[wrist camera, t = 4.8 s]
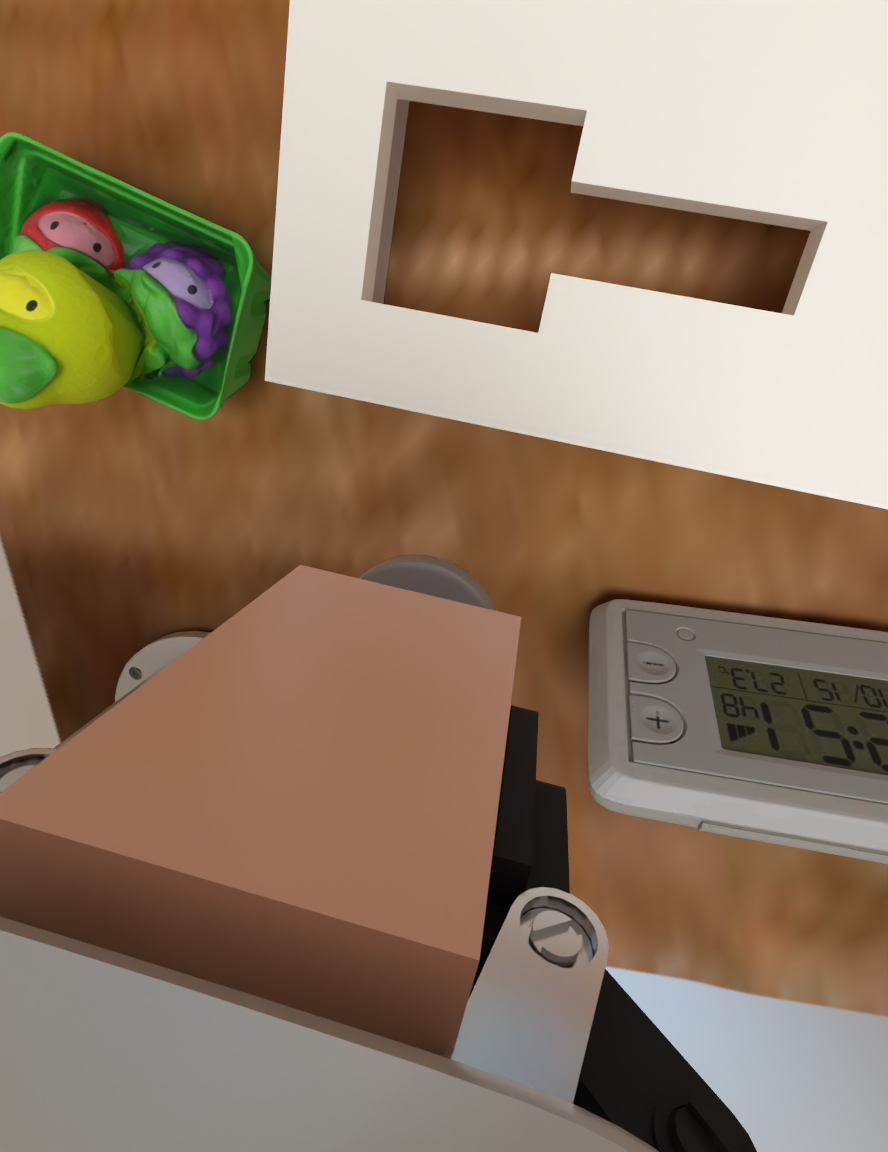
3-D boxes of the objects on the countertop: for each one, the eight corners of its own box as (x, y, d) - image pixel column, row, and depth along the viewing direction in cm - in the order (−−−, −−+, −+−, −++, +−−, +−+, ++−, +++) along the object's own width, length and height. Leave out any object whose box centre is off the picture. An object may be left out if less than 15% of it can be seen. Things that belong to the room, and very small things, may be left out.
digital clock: (951, 640, 28) (1163, 789, 18) (853, 787, 31) (987, 980, 21) (616, 536, 29) (645, 622, 19) (556, 687, 33) (554, 827, 23)
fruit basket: (309, 262, 28) (156, 199, 17) (258, 439, 31) (105, 477, 21) (91, 163, 28) (-190, 43, 18) (64, 350, 31) (-186, 342, 21)
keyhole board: (817, 471, 27) (935, 519, 18) (349, 376, 29) (264, 380, 21) (945, 157, 22) (1176, 32, 14) (384, 76, 25) (294, -72, 16)
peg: (488, 728, 17) (394, 1257, 7) (326, 687, 18) (12, 1124, 7) (526, 570, 16) (480, 961, 5) (346, 529, 16) (-25, 811, 6)
